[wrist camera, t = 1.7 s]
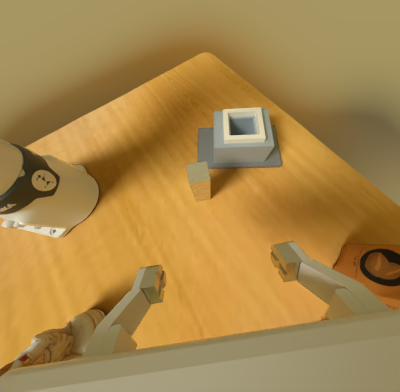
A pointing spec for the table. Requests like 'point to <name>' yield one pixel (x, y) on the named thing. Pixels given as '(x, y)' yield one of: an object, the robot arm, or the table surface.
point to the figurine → (59, 342)
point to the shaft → (199, 180)
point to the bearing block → (238, 144)
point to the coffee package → (373, 270)
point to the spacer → (244, 138)
